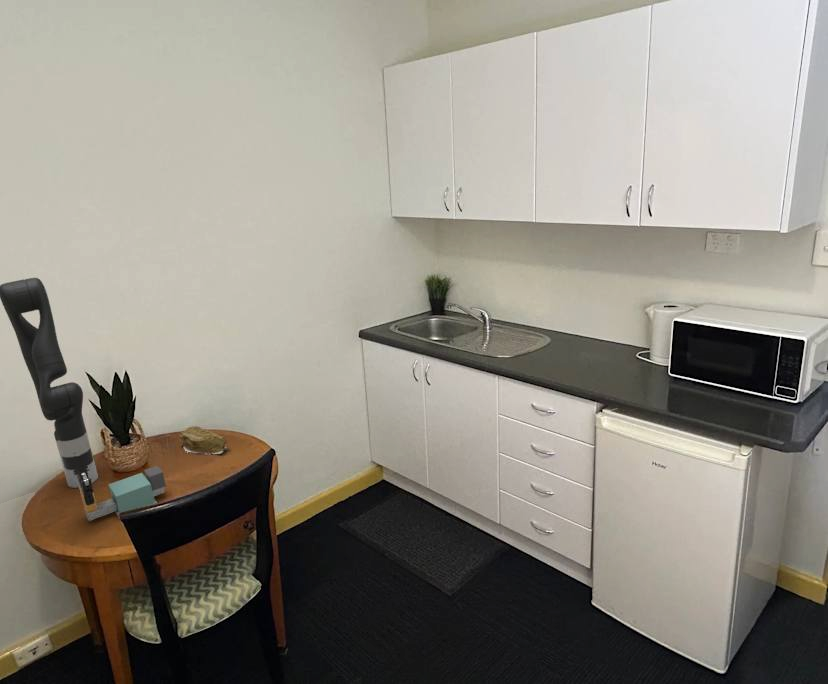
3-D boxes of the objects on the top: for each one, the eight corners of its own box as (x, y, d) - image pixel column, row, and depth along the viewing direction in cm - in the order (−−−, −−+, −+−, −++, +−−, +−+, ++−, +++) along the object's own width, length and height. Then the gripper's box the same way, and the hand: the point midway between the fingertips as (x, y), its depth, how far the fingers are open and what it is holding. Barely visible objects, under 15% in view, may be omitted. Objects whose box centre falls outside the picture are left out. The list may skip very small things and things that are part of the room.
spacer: (147, 483, 187) (144, 470, 186) (160, 479, 189) (157, 465, 188) (152, 490, 182) (149, 476, 181) (165, 486, 185) (162, 472, 183)
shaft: (86, 515, 176) (77, 482, 173) (161, 487, 189) (154, 455, 186) (89, 521, 173) (80, 487, 170) (164, 492, 186) (157, 460, 183)
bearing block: (111, 505, 184) (106, 484, 181) (147, 491, 190) (143, 471, 188) (120, 519, 175) (114, 498, 173) (157, 505, 182) (153, 484, 180)
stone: (236, 447, 217) (233, 431, 215) (216, 459, 209) (213, 443, 207) (195, 438, 227) (192, 422, 225) (174, 449, 219) (171, 433, 217)
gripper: (56, 446, 172) (70, 497, 177) (65, 462, 161) (80, 516, 166) (84, 438, 176) (97, 488, 181) (95, 453, 166) (108, 506, 171)
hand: (89, 501), depth 174 cm, fingers closed on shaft, 3 cm apart
